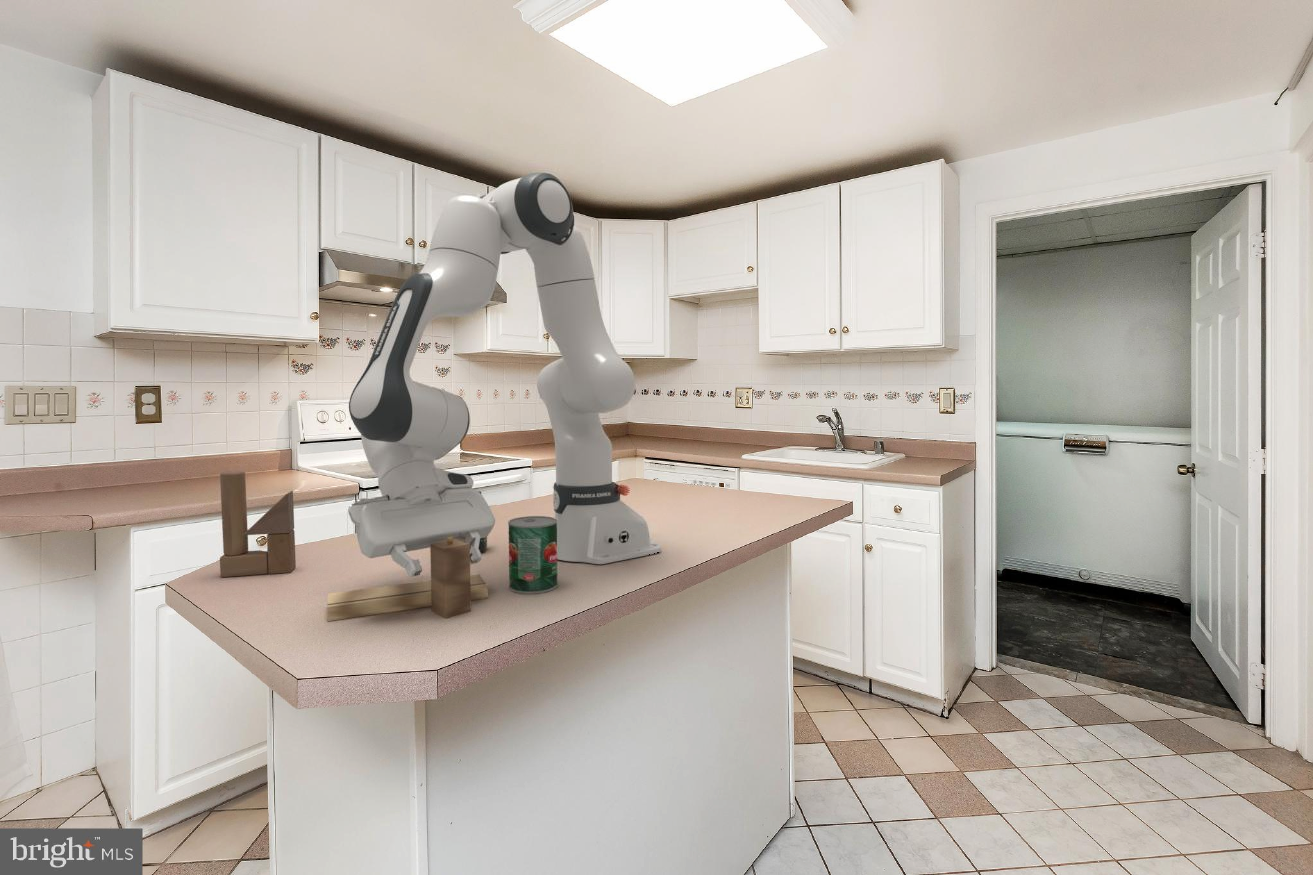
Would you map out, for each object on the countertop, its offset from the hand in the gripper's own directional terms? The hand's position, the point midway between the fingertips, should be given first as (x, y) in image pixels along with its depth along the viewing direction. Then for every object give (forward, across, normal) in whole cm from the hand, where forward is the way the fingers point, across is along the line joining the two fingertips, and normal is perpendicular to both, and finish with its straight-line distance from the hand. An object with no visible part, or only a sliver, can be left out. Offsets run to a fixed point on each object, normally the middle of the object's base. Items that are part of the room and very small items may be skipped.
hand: (447, 567), depth 90 cm
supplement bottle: (-15, +20, +25) cm, 35 cm away
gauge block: (+5, 0, +4) cm, 6 cm away
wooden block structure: (-25, -13, +34) cm, 44 cm away
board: (-1, -2, +10) cm, 10 cm away
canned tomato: (+4, +16, +5) cm, 17 cm away
